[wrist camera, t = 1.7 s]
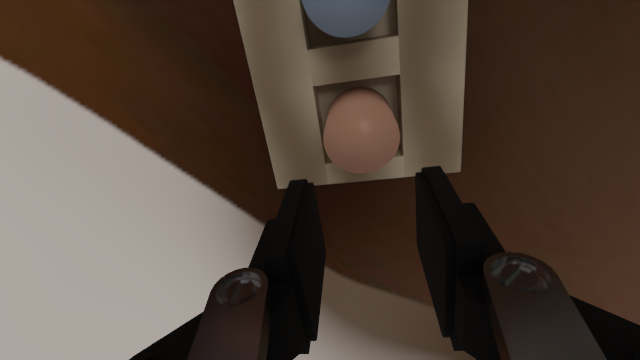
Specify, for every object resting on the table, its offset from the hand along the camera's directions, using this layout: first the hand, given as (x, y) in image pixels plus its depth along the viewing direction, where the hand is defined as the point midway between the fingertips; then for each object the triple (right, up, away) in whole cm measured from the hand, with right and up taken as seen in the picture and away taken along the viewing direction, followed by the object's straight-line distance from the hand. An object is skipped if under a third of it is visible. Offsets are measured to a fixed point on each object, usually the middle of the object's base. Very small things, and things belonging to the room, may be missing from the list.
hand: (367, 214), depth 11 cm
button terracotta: (+1, +5, +10) cm, 11 cm away
